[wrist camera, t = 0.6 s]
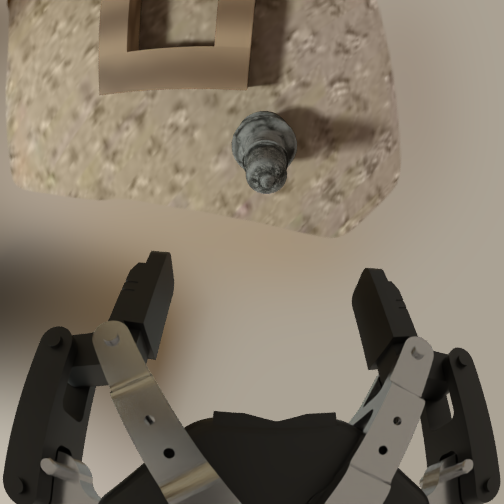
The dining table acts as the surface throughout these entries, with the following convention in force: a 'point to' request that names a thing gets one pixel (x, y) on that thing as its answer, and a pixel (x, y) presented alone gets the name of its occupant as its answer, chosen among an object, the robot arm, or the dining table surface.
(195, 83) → the tan picture frame
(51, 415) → the robot arm
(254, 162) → the grey tall tiered piece
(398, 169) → the dining table surface
